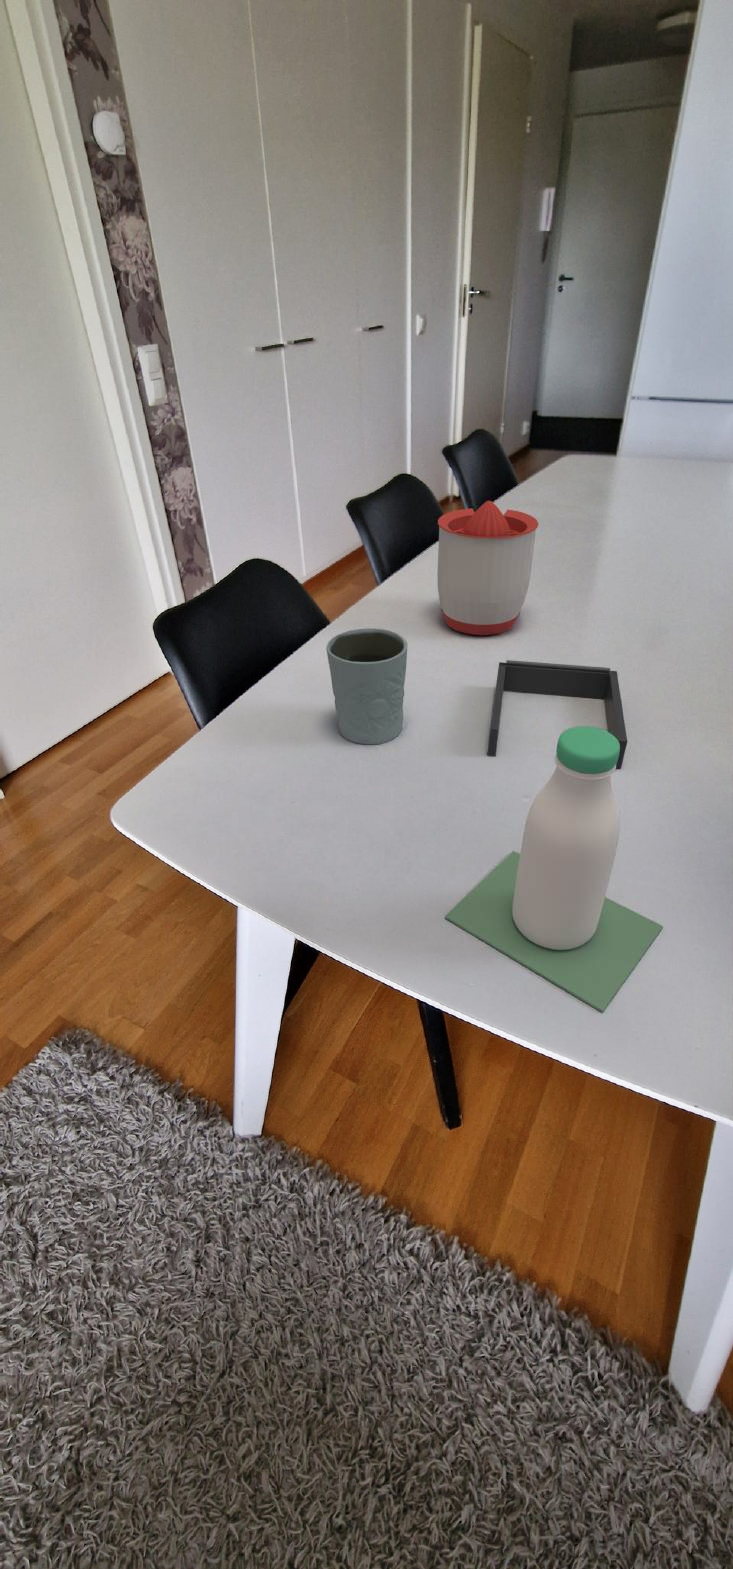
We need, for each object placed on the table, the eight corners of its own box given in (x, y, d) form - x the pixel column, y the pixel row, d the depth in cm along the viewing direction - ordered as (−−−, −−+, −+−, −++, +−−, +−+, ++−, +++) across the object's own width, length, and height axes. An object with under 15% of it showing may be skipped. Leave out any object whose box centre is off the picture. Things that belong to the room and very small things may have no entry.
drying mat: (662, 928, 65) (663, 926, 64) (602, 1013, 57) (603, 1010, 57) (513, 852, 73) (513, 850, 73) (444, 918, 66) (444, 916, 66)
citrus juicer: (526, 603, 126) (540, 486, 114) (525, 645, 112) (541, 517, 101) (439, 599, 129) (444, 483, 117) (428, 639, 115) (432, 513, 103)
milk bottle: (605, 953, 62) (657, 768, 50) (518, 953, 62) (548, 769, 50) (585, 890, 68) (626, 713, 56) (505, 890, 68) (529, 714, 56)
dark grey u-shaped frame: (496, 687, 102) (499, 658, 99) (611, 696, 99) (617, 667, 96) (487, 755, 88) (490, 724, 85) (620, 769, 85) (628, 737, 82)
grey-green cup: (383, 755, 88) (382, 669, 81) (316, 735, 92) (309, 651, 85) (419, 718, 95) (421, 636, 88) (355, 701, 99) (352, 621, 92)
